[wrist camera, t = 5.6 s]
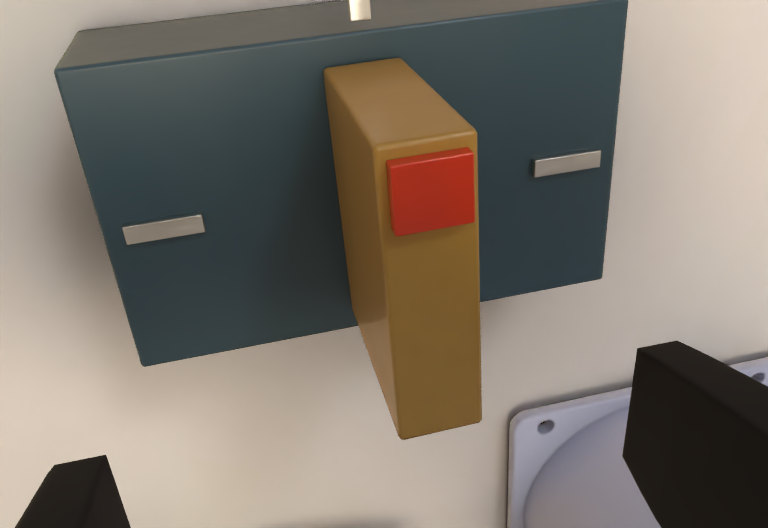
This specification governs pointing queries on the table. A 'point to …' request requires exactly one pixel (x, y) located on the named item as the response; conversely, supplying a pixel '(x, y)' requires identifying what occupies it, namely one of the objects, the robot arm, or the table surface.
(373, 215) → the tap handle
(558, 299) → the table surface
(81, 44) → the plate
